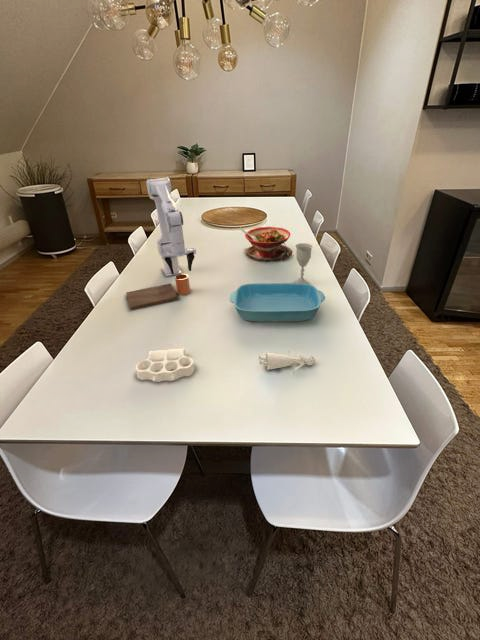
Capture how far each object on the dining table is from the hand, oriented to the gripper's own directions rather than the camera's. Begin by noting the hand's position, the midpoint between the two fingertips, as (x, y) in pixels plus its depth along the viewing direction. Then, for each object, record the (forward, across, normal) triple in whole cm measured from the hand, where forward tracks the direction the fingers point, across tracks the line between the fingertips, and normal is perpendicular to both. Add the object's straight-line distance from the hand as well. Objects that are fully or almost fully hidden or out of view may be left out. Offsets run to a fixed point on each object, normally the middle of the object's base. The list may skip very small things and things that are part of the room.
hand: (181, 271), depth 149 cm
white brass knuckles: (+10, -18, -49) cm, 53 cm away
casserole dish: (+10, +30, -32) cm, 45 cm away
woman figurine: (+10, +18, -63) cm, 66 cm away
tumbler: (+10, 0, 0) cm, 10 cm away
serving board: (+10, -14, +1) cm, 17 cm away
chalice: (+10, +51, -16) cm, 54 cm away
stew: (+10, +51, +22) cm, 56 cm away
